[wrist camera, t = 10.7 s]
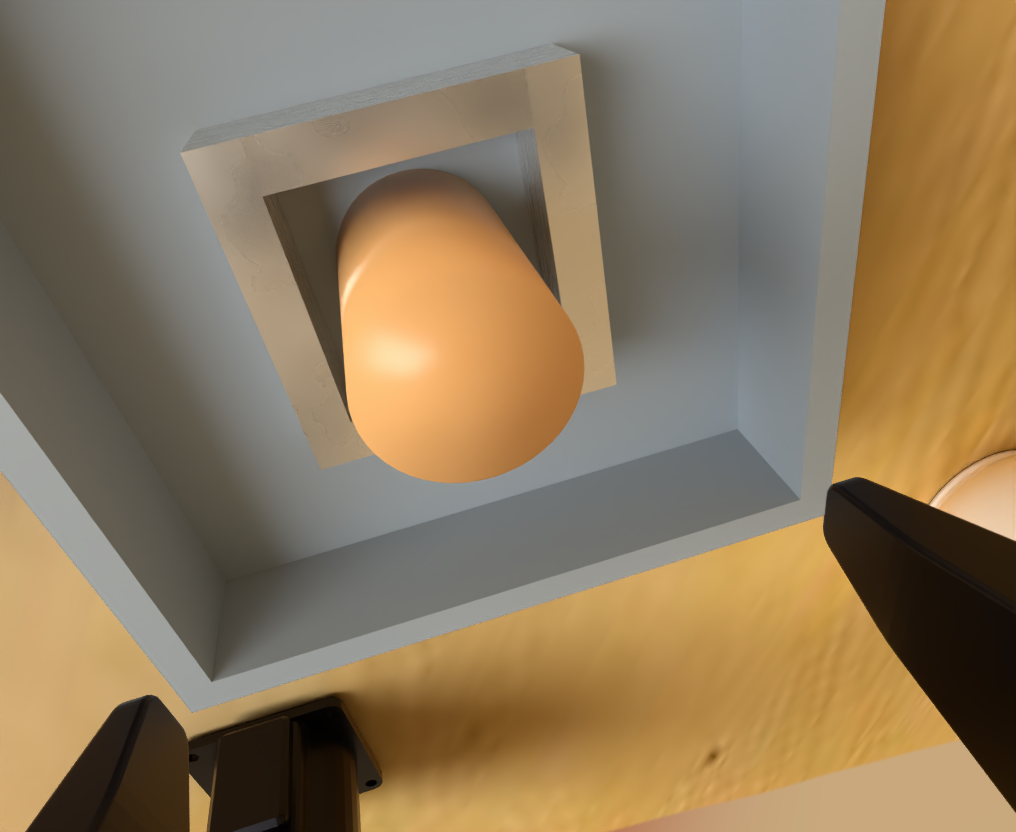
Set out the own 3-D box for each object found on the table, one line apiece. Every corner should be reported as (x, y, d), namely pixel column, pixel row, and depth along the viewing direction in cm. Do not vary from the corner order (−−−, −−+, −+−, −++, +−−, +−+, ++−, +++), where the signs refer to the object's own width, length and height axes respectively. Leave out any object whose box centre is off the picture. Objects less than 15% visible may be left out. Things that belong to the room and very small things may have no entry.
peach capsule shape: (516, 305, 20) (596, 446, 14) (365, 347, 20) (386, 508, 14) (485, 148, 18) (567, 243, 12) (311, 193, 17) (309, 313, 11)
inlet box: (754, 433, 26) (828, 514, 22) (210, 597, 24) (191, 712, 20) (775, -346, 14) (936, -449, 10) (-267, -134, 13) (-507, -170, 9)
